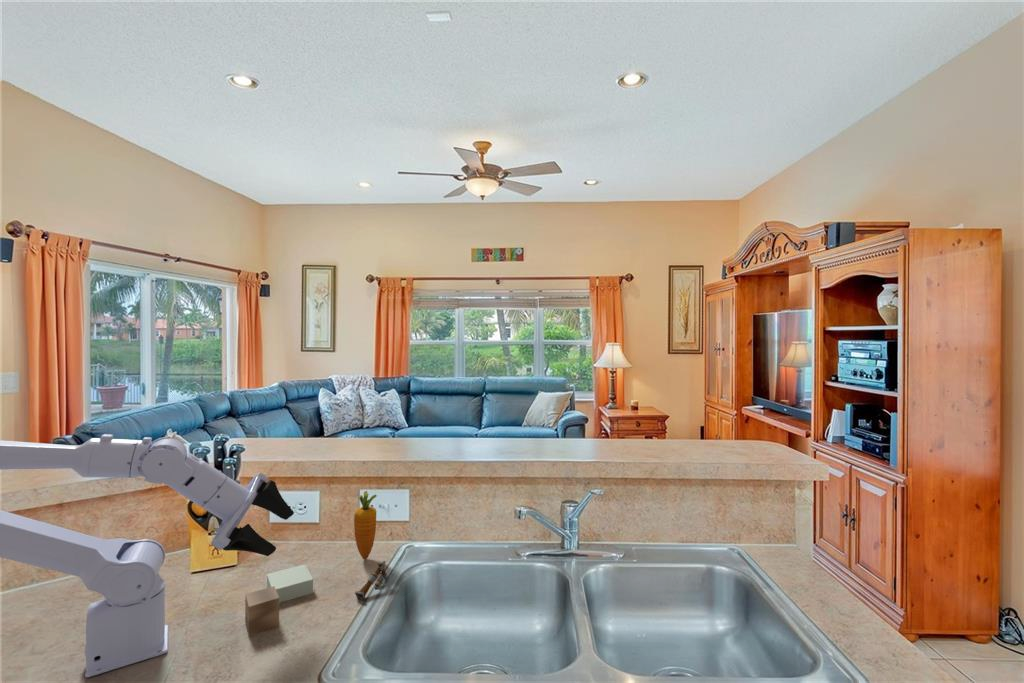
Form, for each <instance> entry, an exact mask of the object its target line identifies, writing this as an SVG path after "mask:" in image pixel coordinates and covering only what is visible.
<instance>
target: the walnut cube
mask: <svg viewBox="0 0 1024 683" xmlns="http://www.w3.org/2000/svg"><path fill="white" fill-rule="evenodd" d="M244 601H245V605H244V606H245V610H244V613H245V616H244V618H245V623H246V624H245V627H246V632H247V635H248V637H252V636H255V635H258V634H260V633H264V632H266V631H271V630H274V629H276V628H279V627H280V603H279V596H278V594H277V591H276V589H275V586H273V587H270V588H267V587H266V588H263V589H259V590H256V591H252V592H249V593H245V598H244Z"/></svg>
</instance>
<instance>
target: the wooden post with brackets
mask: <svg viewBox="0 0 1024 683" xmlns="http://www.w3.org/2000/svg"><path fill="white" fill-rule="evenodd" d="M386 562H387V561H386V560H382V561H379V563H378V564H377V566H376V569H375V571H374V572H372V573H371V575H370V576H369V578H368V579H367V582H366V583H365V584H364V585H363V586H362V587H361V588H360V589H359V590H355V591H354V594H355V597H356V599H360V600H364V601H366V600H367V599H366V595H367V593H368V591H369V589H370V588H371V586H372V585H374V589H375V590H377V589H380V588H381V587H382V585H384V581H387V580H388V579H389V576H388V574H387V572H386V570H385V567H386ZM379 575H381V576H382V577H380V578H379Z"/></svg>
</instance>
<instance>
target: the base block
mask: <svg viewBox="0 0 1024 683" xmlns="http://www.w3.org/2000/svg"><path fill="white" fill-rule="evenodd" d="M273 586H275V589H276V591H277V594H278V596H279V604H280V603H283V602H287V601H289V600H293V599H297V598H301V597H304V596H307V595H311V594H314V578H313V576H312V575H311V572H310V571H309V569H308V567H307V565H306V564H300V565H296V566H292V567H289V568H286V569H281V570H278V571H273V572H270V573H267V574H266V588H270V587H273Z"/></svg>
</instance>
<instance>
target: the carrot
mask: <svg viewBox="0 0 1024 683" xmlns="http://www.w3.org/2000/svg"><path fill="white" fill-rule="evenodd" d="M368 497H369V493H368V491H367V490H366V491H365V490H364V492H363V495H362V494H360V495H359V501H360V503H361V504H360V505H362V506H361V507H358V508H356V510H355V512H354V516H353V519H354V520H353V523H354V525H353V526H354V528H353V529H354V537H355V543H356V546H357V547H356V548H357V551H358V552H359V555H360V556H361V558H362V560H365V561H366V560H367V559H368V558H369V556H370V554H371V553H372V550H373V546H374V542H375V537H376V528H377V527H376V526H377V509H376V508H375V507H373V506H370V504H371V502H372V501H373V500H374V499H375V498H376V497H377V494H372V496H371V497H370V498H368Z"/></svg>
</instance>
